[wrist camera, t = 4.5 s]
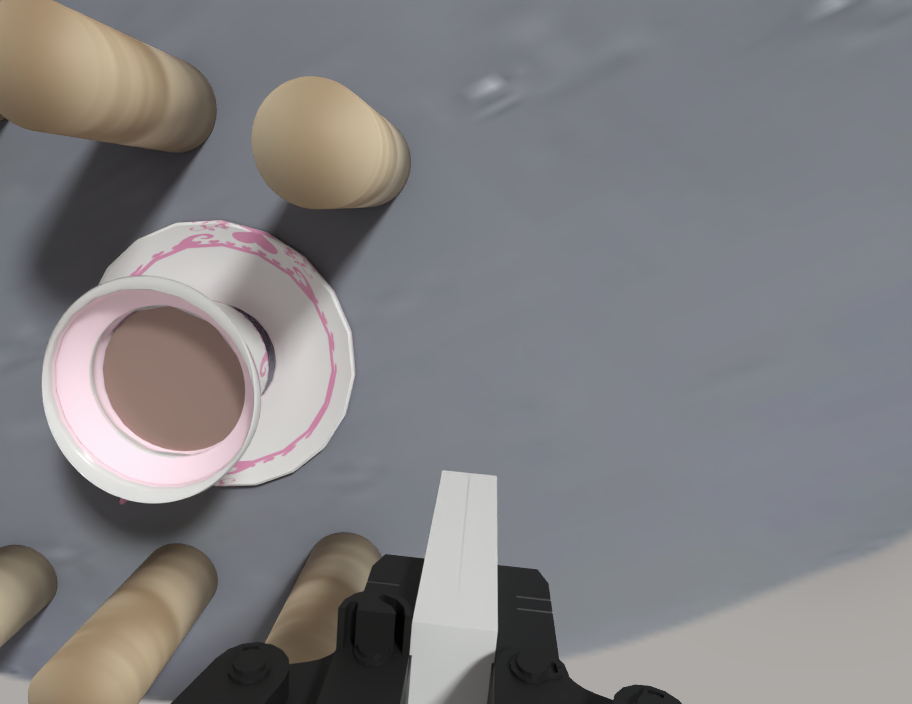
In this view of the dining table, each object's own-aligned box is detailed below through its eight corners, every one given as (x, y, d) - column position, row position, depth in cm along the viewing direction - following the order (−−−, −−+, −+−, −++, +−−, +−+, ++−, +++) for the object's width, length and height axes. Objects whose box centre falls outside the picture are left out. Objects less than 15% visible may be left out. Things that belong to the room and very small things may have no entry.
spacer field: (-11, 606, 32) (-175, 738, 24) (-69, 25, 25) (-315, -54, 18) (378, 648, 31) (342, 798, 23) (417, 65, 25) (384, 2, 17)
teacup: (135, 172, 27) (32, 163, 21) (398, 288, 27) (373, 313, 21) (61, 419, 29) (-49, 475, 23) (302, 520, 30) (255, 600, 24)
